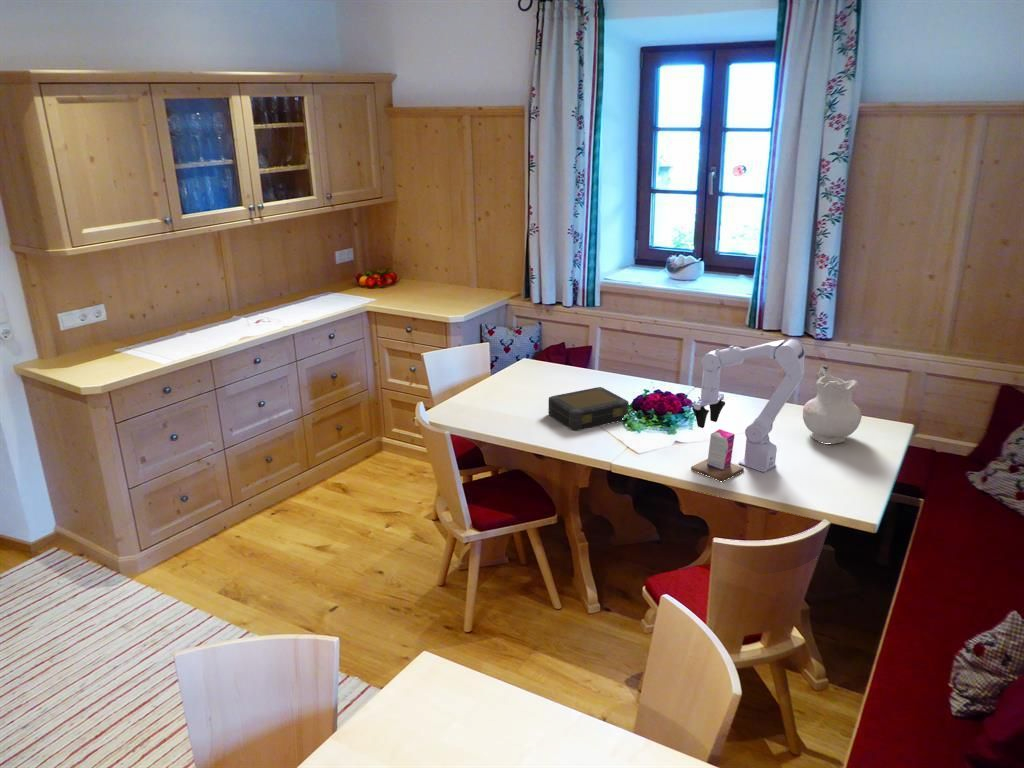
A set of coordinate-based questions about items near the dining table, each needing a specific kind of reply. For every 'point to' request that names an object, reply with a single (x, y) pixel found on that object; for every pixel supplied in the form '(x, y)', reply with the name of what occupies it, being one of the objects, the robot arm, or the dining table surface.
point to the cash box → (587, 408)
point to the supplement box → (720, 449)
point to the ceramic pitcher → (832, 409)
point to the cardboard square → (716, 473)
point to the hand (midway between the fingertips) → (707, 424)
